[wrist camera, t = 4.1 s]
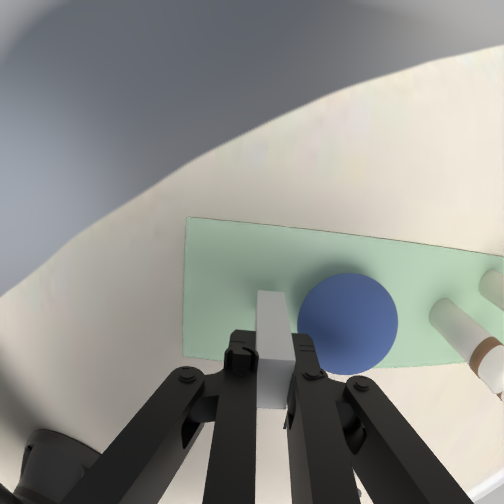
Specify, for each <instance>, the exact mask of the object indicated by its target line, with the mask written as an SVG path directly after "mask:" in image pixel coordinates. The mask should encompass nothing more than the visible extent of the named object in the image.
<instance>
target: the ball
mask: <svg viewBox="0 0 504 504" xmlns="http://www.w3.org/2000/svg"><path fill="white" fill-rule="evenodd" d="M397 330H398V314H397V309H396V306H395V303H394V301H393V299H392V297H391V295H390V294H389V292H388V291H387V290H386V289H385V288H384V287H383V286H382V285H381V284H380V283H379V282H377V281H376V280H374V279H372V278H370V277H368V276H365V275H362V274H356V273H342V274H337V275H334V276H331V277H329V278H327V279H324V280H323V281H321V282H320V283H318V284H317V285H316V286H315V287H314V288H313V289H312V290H311V291H310V292H309V293H308V295H307V296H306V297H305V299H304V301H303V303H302V305H301V307H300V310H299V314H298V319H297V332H298V333H302V334H308V335H309V336H310V337H311V338H312V339H313V342H314V347H315V350H316V353H317V357H318V361H319V365H320V368H322V369H323V370H325V371H327V372H330V373H333V374H339V375H353V374H358V373H362V372H364V371H367V370H369V369H371V368H372V367H374V366H376V365H377V364H378V363H379V362H380V361H382V360H383V359H384V357H385V356H386V355H387V354H388V352H389V351H390V349H391V348H392V346H393V343H394V341H395V339H396V335H397Z"/></svg>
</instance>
